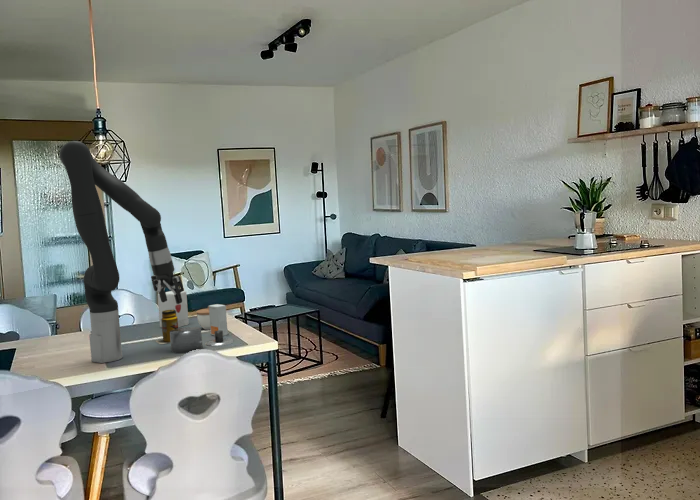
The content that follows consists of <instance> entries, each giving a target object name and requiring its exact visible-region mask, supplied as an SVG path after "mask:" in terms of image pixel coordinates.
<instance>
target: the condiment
mask: <svg viewBox="0 0 700 500" xmlns="http://www.w3.org/2000/svg"><path fill="white" fill-rule="evenodd" d="M161 321H162V328H161V331H162V339H159V340H155V342H156V343H157V344H158V345H164V344H171V341H170V331H171V330H174V329H178V328H179V327H178V319H177V316H176V310H165V311H162V319H161Z"/></svg>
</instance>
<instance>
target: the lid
mask: <svg viewBox="0 0 700 500" xmlns="http://www.w3.org/2000/svg"><path fill="white" fill-rule="evenodd" d="M234 342H235V340H234V339H232V338H224V336H223V331H222V330H219V331H215V335H214V339H211V340H210V339H209V340H207V341H206V342H204V346H206V347H222V346H228V344H229V345H231V343H232V344H233V343H234Z"/></svg>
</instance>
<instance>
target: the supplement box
mask: <svg viewBox="0 0 700 500" xmlns="http://www.w3.org/2000/svg"><path fill="white" fill-rule="evenodd" d="M165 293H166V296H167V301H165V302H161V299H160V295H159V293H157V304H158V305H157V307H158V317H159V318H158V319H159V328H161V329H162V321H161V319H162V311H165V310H176V316H177V319H178V328H182V327H185V326H187V325H190V324H189V323H190V321H189V312H188V311H189V310H188V298H187V294H188V293H187V291H186V290H184V291H182V292H181V298H182V303H180V304H176V300H175V296H174V295H175V294H174V293H173V292H172V291H171V290H169V291H165Z"/></svg>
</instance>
